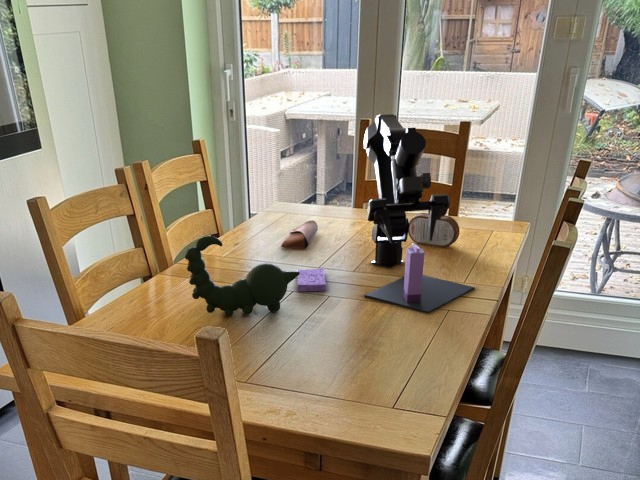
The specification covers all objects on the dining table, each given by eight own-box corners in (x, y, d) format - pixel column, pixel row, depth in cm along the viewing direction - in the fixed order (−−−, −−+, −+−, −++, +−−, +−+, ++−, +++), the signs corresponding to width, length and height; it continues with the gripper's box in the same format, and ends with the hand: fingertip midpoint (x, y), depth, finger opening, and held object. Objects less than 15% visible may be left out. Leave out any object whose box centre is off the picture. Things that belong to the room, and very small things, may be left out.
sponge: (297, 291, 177) (297, 284, 176) (297, 275, 188) (297, 268, 187) (325, 291, 177) (326, 284, 176) (324, 274, 187) (324, 267, 186)
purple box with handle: (402, 295, 172) (406, 243, 165) (416, 295, 172) (420, 242, 165) (407, 302, 168) (411, 249, 161) (420, 302, 168) (425, 248, 161)
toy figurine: (196, 328, 164) (304, 315, 163) (180, 245, 153) (296, 230, 152) (198, 313, 171) (302, 300, 170) (183, 233, 161) (294, 219, 160)
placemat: (364, 296, 173) (364, 294, 173) (412, 274, 186) (413, 272, 186) (428, 313, 163) (428, 311, 163) (474, 289, 176) (475, 287, 176)
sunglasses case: (290, 230, 222) (301, 211, 218) (310, 242, 223) (321, 224, 219) (279, 247, 207) (290, 227, 203) (300, 260, 208) (311, 240, 204)
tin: (458, 247, 205) (461, 216, 200) (454, 249, 203) (457, 219, 198) (409, 240, 212) (411, 210, 207) (405, 242, 210) (407, 213, 205)
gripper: (369, 162, 161) (375, 227, 159) (451, 156, 162) (459, 221, 159) (364, 189, 172) (370, 250, 170) (441, 184, 173) (448, 244, 170)
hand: (411, 241), depth 167 cm, fingers open, 9 cm apart
